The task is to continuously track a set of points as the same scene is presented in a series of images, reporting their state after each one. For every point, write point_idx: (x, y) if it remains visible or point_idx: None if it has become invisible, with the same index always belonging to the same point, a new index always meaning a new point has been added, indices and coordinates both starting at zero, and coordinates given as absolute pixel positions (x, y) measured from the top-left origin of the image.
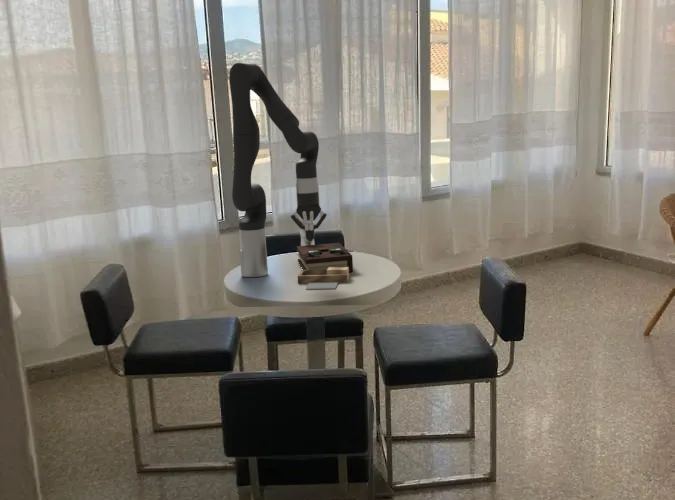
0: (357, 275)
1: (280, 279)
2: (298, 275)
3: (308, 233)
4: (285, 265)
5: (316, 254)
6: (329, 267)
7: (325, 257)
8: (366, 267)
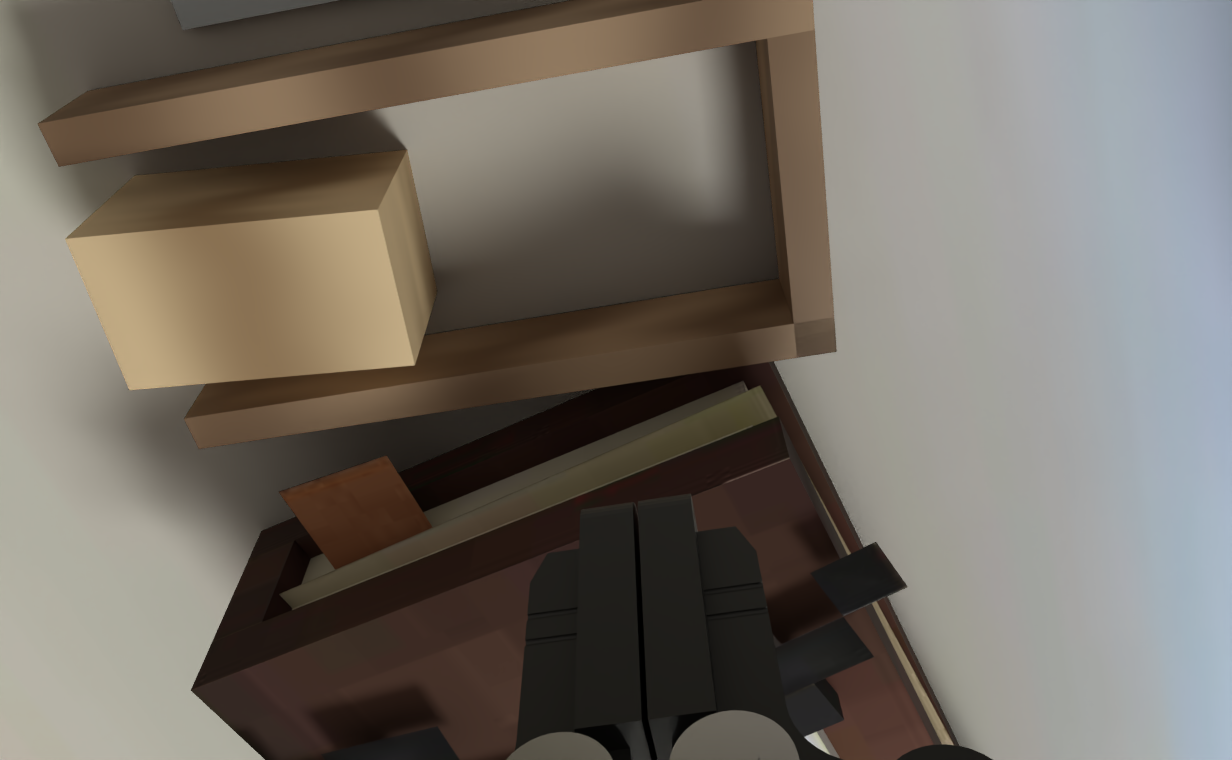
0: (140, 420)
1: (1098, 158)
2: (807, 31)
3: (675, 643)
4: (1107, 718)
5: None
6: (402, 357)
7: (522, 580)
8: None
